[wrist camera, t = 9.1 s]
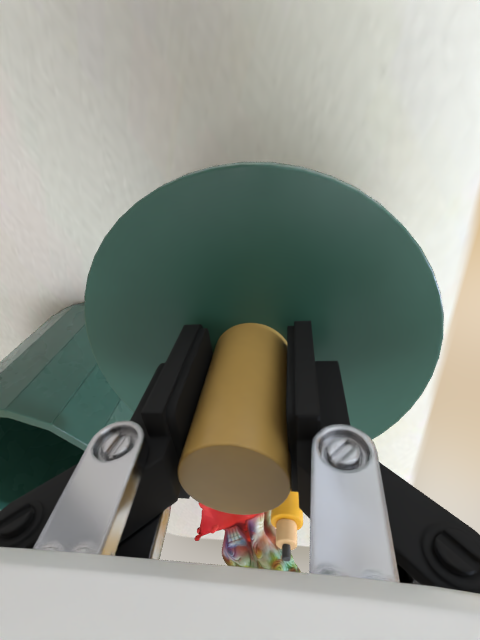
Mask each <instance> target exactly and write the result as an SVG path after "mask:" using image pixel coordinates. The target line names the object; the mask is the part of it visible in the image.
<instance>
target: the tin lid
mask: <svg viewBox="0 0 480 640" xmlns="http://www.w3.org/2000/svg"><path fill="white" fill-rule="evenodd" d="M84 316H85V323H86V330H87V335H88V339H89V342H90V346H91V349H92V352H93V354H94V357H95V359H96V361H97V364H98V366H99V368H100V370H101V371H102V373H103V375H104V376H105V378H106V380H107V381H108V383H109V384H110V386H111V387H112V388H113V390H114V391H115V392H116V394H117V395H118V396H119V398H120V399H121V400H122V401H123V402H124V403H125V404H126V405H127V406H128V407H129V408H130V409H131V410H132V411H133V412H135V410H136V408H137V406H138V404H139V402H140V400H141V398H142V396H143V395H144V393H145V391H146V389H147V387H148V385H149V383H150V381H151V379H152V377H153V375H154V373H155V371H156V369H157V367H158V366H159V365H160V364H161V363H165V362H166V360H167V358H168V356H169V354H170V352H171V350H172V348H173V346H174V344H175V342H176V340H177V338H178V336H179V334H180V332H181V330H182V328H183V326H184V325H193V324H201V325H202V326H203V328H207V329H208V331H209V335H210V341H211V346H212V351H213V357H212V360H211V363H210V366H209V369H208V372H207V375H206V379H205V382H204V385H203V388H202V391H201V394H200V398H199V401H198V404H197V407H196V410H195V413H194V417H193V420H192V423H191V426H190V429H189V432H188V435H187V439H186V442H185V445H184V448H183V451H182V454H181V458H180V461H179V464H178V468H177V474H178V479H179V482H180V484H181V486H182V487H183V489H184V490H185V491H186V492H187V493H188V494H189V495H190V496H191V497H192V498H193V499H195V500H196V501H198V502H199V503H201V504H203V505H205V506H207V507H209V508H212V509H215V510H218V511H221V512H225V513H230V514H240V515H251V514H259V513H264V512H267V511H270V510H272V509H275V508H276V507H278V506H280V505H281V504H282V503H283V502H284V501H285V500H286V499H287V497H288V495H289V493H290V490H291V456H290V453H289V451H288V437H287V421H286V386H287V326H294V321H311V324H312V335H313V345H314V356H315V361H338V363H339V367H340V372H341V378H342V383H343V388H344V394H345V399H346V404H347V409H348V415H349V420H350V425H351V426H353V427H355V428H357V429H360V430H361V431H363V432H364V433H365V434H367V435H368V436H369V437H370V438H371V440H372V439H374V438H375V437H377V436H379V435H380V434H382V433H383V432H385V431H386V430H387V429H389V428H390V427H391V426H392V425H394V424H395V423H396V422H398V421H399V420H400V419H401V418H402V417H403V416H404V415H405V414H406V413H407V412H408V411H409V410H410V409H411V407H412V406H413V405H414V403H415V402H416V401H417V400H418V398H419V397H420V396H421V394H422V393H423V391H424V389H425V388H426V386H427V384H428V382H429V381H430V379H431V377H432V375H433V372H434V369H435V367H436V364H437V361H438V359H439V355H440V350H441V345H442V340H443V321H444V314H443V307H442V300H441V294H440V290H439V287H438V284H437V281H436V278H435V275H434V272H433V269H432V268H431V266H430V264H429V262H428V260H427V258H426V256H425V255H424V253H423V251H422V249H421V247H420V246H419V245H418V244H417V242H416V241H415V240H414V238H413V237H412V236H411V235H410V233H409V232H408V231H407V229H406V228H405V227H404V226H403V225H402V224H401V223H400V222H399V221H398V220H397V219H396V218H395V217H394V216H393V215H392V214H391V213H390V212H388V211H387V210H386V209H385V208H384V207H383V206H382V205H381V204H380V203H378V202H377V201H375V200H374V199H372V198H371V197H369V196H368V195H366V194H365V193H363V192H362V191H360V190H359V189H357V188H356V187H354V186H352V185H349V184H347V183H345V182H343V181H341V180H339V179H337V178H335V177H333V176H330V175H327V174H324V173H321V172H317V171H314V170H311V169H308V168H304V167H300V166H294V165H287V164H281V163H274V162H239V163H232V164H224V165H217V166H212V167H209V168H205V169H202V170H198V171H195V172H191V173H188V174H186V175H184V176H181V177H179V178H177V179H175V180H173V181H171V182H168V183H166V184H164V185H162V186H161V187H159V188H157V189H156V190H154V191H153V192H151V193H150V194H148V195H147V196H145V197H144V198H142V199H141V200H139V201H138V202H137V203H135V204H134V205H133V206H132V207H131V208H130V209H129V210H128V211H127V212H126V213H125V214H124V215H122V216H121V217H120V218H119V219H118V221H117V222H116V223H115V225H114V226H113V227H112V228H111V230H110V231H109V232H108V234H107V235H106V236H105V238H104V240H103V241H102V243H101V245H100V247H99V249H98V251H97V253H96V254H95V256H94V259H93V262H92V265H91V268H90V271H89V274H88V278H87V284H86V290H85V302H84Z"/></svg>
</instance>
